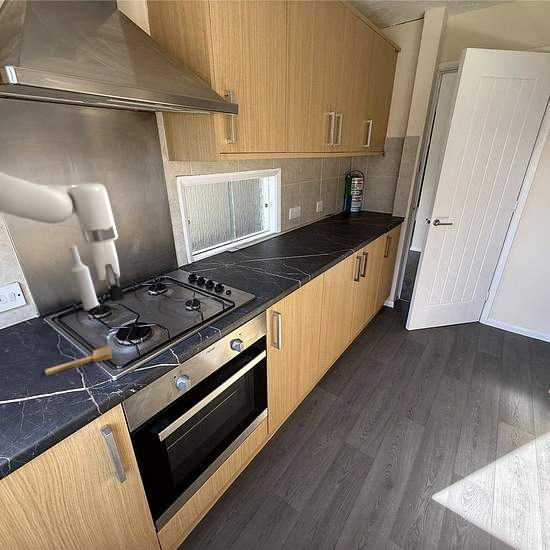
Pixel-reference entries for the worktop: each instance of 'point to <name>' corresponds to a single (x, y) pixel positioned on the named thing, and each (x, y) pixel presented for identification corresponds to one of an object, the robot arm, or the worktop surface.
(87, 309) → the bottle
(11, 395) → the worktop surface
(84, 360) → the wooden spatula
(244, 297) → the worktop surface
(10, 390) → the worktop surface
